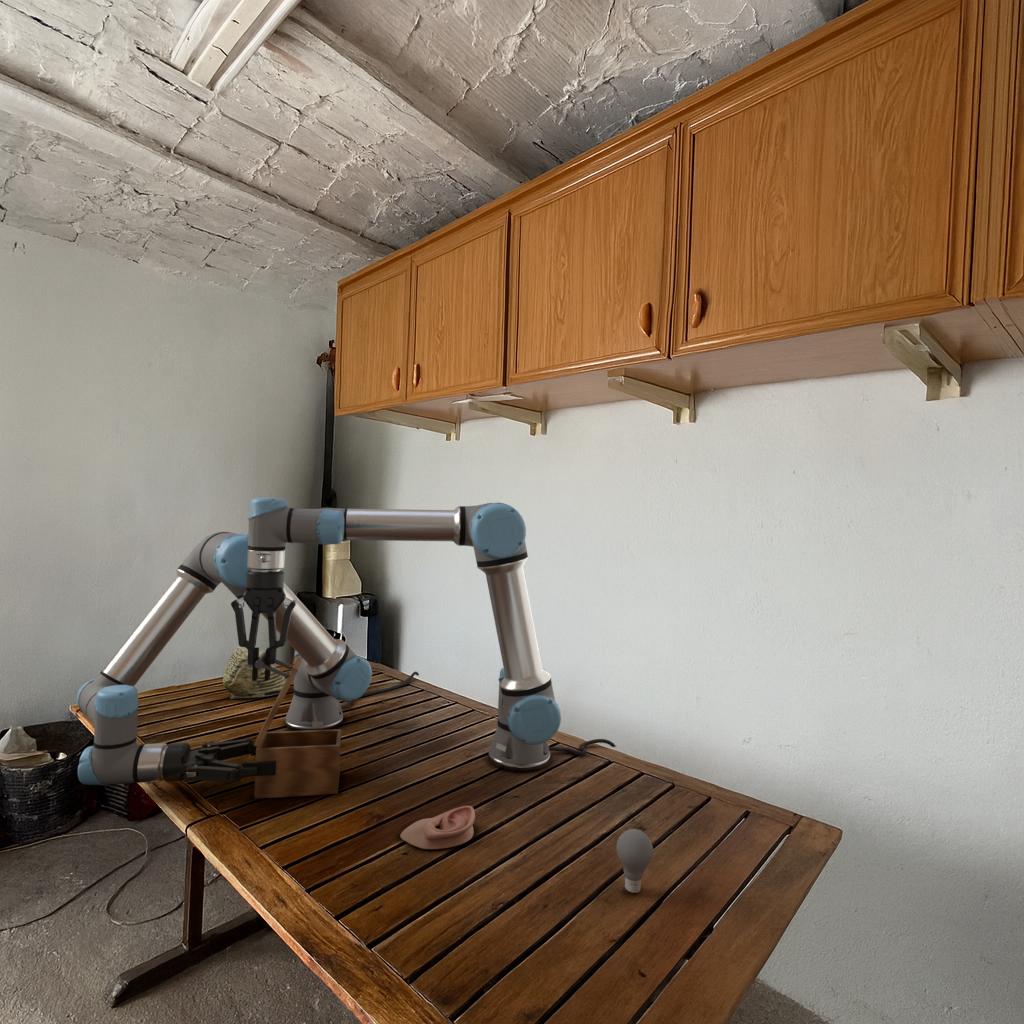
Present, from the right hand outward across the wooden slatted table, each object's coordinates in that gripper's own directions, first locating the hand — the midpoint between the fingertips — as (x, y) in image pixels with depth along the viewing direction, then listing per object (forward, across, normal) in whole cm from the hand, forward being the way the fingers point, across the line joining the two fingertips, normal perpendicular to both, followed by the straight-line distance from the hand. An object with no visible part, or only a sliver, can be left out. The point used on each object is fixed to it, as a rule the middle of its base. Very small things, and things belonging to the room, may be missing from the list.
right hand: (261, 678), depth 136 cm
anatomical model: (+23, +36, -24) cm, 50 cm away
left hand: (+17, +4, 0) cm, 18 cm away
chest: (+24, +9, 0) cm, 25 cm away
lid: (+5, +4, 0) cm, 7 cm away
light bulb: (+23, +67, -47) cm, 85 cm away
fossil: (+24, -11, +66) cm, 71 cm away
